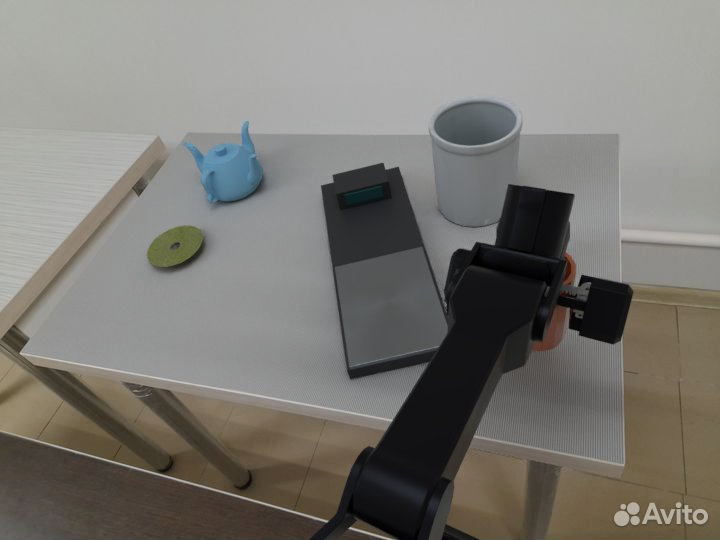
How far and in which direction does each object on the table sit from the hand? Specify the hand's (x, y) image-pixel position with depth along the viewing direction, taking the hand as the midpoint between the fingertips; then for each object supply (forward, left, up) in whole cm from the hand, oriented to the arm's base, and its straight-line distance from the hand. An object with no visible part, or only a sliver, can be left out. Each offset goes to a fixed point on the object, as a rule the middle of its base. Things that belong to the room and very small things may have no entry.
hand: (543, 288), depth 64 cm
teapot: (+57, +45, -14) cm, 74 cm away
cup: (-1, +1, -7) cm, 7 cm away
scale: (+24, +19, -13) cm, 33 cm away
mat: (+39, +57, -14) cm, 70 cm away
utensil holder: (+33, -1, -14) cm, 36 cm away
